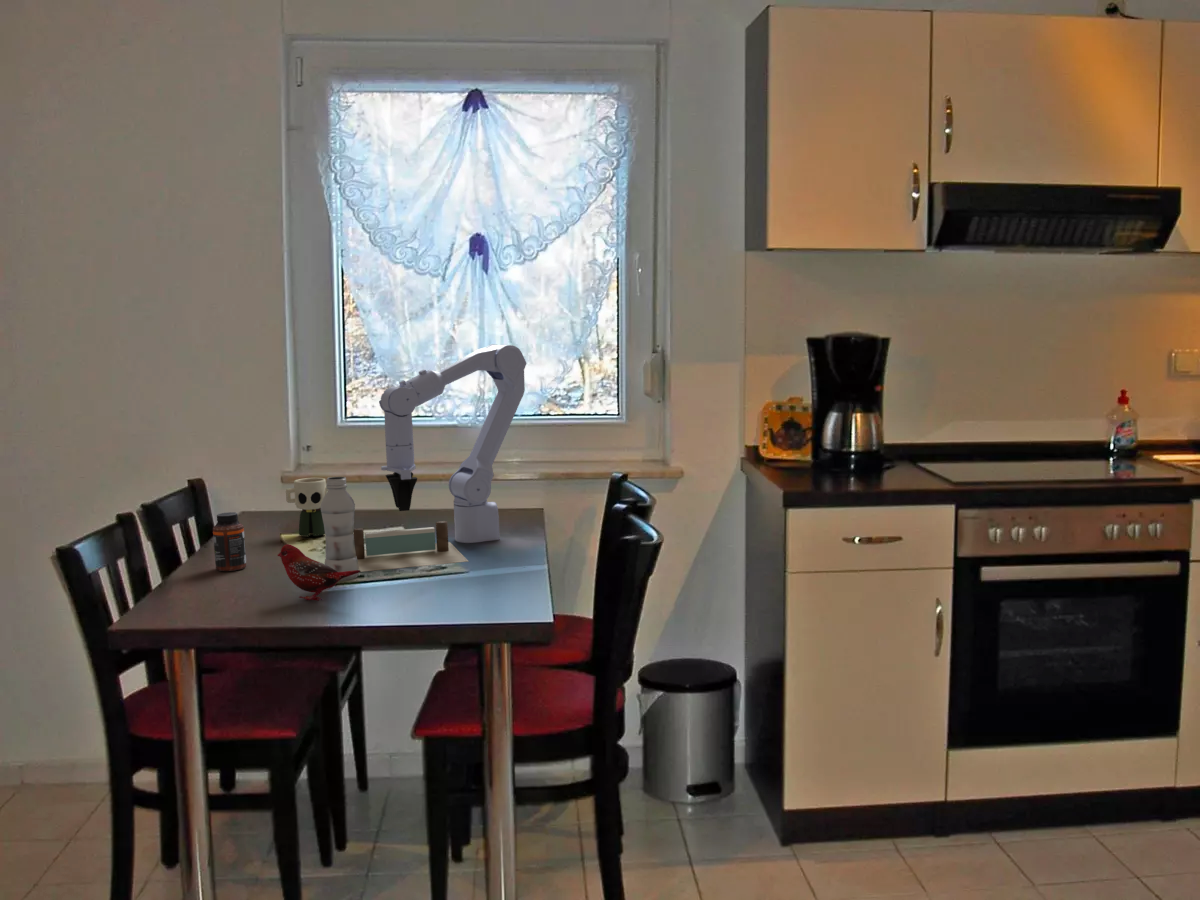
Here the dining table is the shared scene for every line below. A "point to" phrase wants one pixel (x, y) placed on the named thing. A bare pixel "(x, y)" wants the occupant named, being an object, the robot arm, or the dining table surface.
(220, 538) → the supplement bottle
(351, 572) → the decorative bird figurine
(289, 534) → the dining table surface
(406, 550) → the gate
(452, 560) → the gate frame
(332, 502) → the plastic bottle
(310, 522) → the character mug
